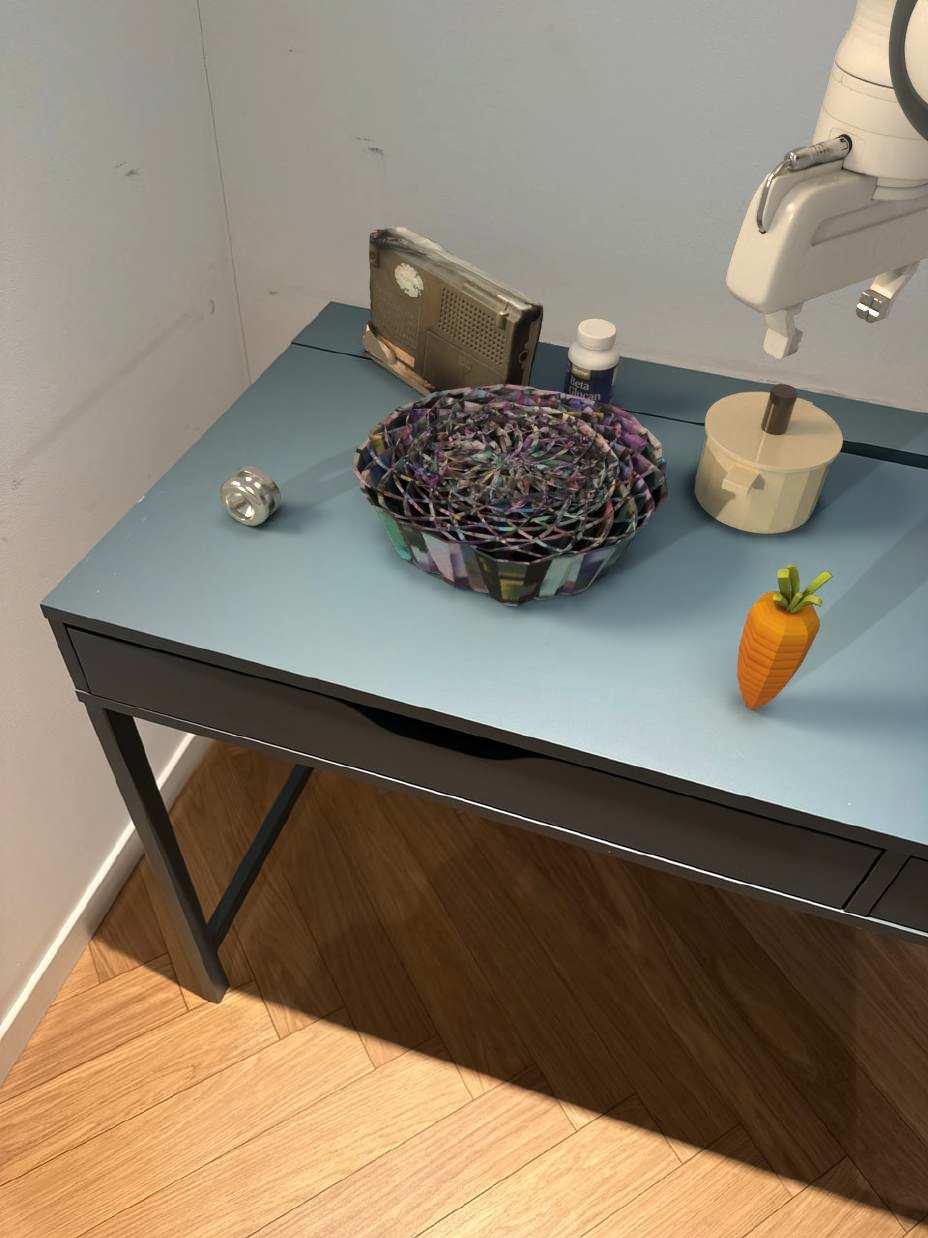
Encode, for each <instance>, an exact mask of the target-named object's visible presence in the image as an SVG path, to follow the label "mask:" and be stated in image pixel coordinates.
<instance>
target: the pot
mask: <svg viewBox="0 0 928 1238" xmlns="http://www.w3.org/2000/svg"><path fill="white" fill-rule="evenodd" d="M797 398H798V399H800V400H803V401H805V402H808V403H810V404H812V405H814V404H813V402H812V401H808V400H806V399H803V398H800V397H797ZM702 445H703V446H702V449H701V453H700V457H699V462H698V466H697V471H696V474H695V482H694V494H695V498H696V501H697V502H698V503H699V505H700V506H701V508H702V509H703V510H704V511H705V512H706V513H707V514H709V516H711V517H712V518H713V519H715V520H716V521H719V522H720V523H722V524H724V525H727V526H728V527H731V528H734V529H737V530H740V531H744V532H748V533H753V534H761V535H762V534H766V535H767V534H770V535H771V534H781V533H786V532H790V531H793V530H795V529H797V528H799V527H801V526H803V525H804V524H805V523H806V522H807V521H808V520H809V519H810V518H811V516H812V514H813V513H814V510H815V508H816V506H817V504H818V501H819V498H820V495H821V492H822V490H823V487H824V484H825V481H826V480H827V479H826V478H827V476H828V473H829V470H830V467H831V465H832V462H831V463H829V464H828V465H826V466H824V467H821V468H819V469H816V470H812V471H807V472H798V473H782V472H773V471H767V470H762V469H758V468H755V467H751V466H748V465H746V464H743V463H741V462H738V461H737V460H735V459H733V458H731V457H729V456H728V455H726V454H724V453H723V452H722V451H721V450H719V449H718V448H717V447H716V446H715V445H714V444H713V443H712V442H711V440H710V439H709V437H708V435H707V433H706V432H705V436H704V441H703V444H702Z"/></svg>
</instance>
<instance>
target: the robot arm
mask: <svg viewBox="0 0 928 1238" xmlns="http://www.w3.org/2000/svg"><path fill="white" fill-rule="evenodd" d="M833 59H834V60H833V63H832V67H831V71H830V75H829V79H828V83H827V86H826V89H825V93H824V97H823V101H822V103H821V108H820V111H819V115H818V117H817V118H818V119H817V122H816V125H815V128H814V129H815V130H814V132H813V137H812V145H810V146H799V147H795V148H793V149H791V150H789V151H788V152H786V154H785V155H784V156H783V160H782V161H781V162H780V163H778V164H777V166H775V168H774V169H773V170H772V171H771V172H769V173H767V175H766V176H765V178H764V180H763V181H762V182H761V184H760V185H759V187H758V188H757V190H756V191H755V193H754V195H753V197H752V199H751V201H750V204H749V206H748V208H747V211H746V214H745V216H744V219H743V221H742V224H741V227H740V231H739V233H738V236H737V239H736V242H735V245H734V249H733V251H732V255H731V258H730V261H729V264H728V268H727V270H726V271H727V272H726V277H725V284H726V287H727V289H728V292H729V294H730V295H731V297H733V298H734V299H735V300H737V301H738V302H740V303H742V304H743V305H745V306H747V307H748V308H750V309H752V310H754V311H755V312H758V313H759V314H762V315H763V316H764V319H765V323H766V327H767V329H766V333H765V338H764V341H763V345H762V346H763V350H764V352H765V353H766V354H768V355H770V356H771V357H773V358H774V359H776V360H782V359H784V358H786V357H789V356H791V355H794V354H796V353H797V352H798V351H799V344H800V342H801V341H802V338H803V334H804V332H803V331H802V330H800V329H799V328H797V327H795V316H797V315H800V314H801V312H802V310H803V306H804V303H806V302H808V301H810V300H811V301H812V300H813V299H816V298H819V297H821V296H825V295H827V294H830V293H832V292H836V291H839V290H842V289H844V288H846V287H847V288H848V287H849V286H853V285H855V284H858V283H861V282H863V281H864V282H865V281H867V280H869V279H872V278H874V277H875V279H874V280H873V282H872V284H871V286H870V287H869V288H868V289H866V290H863V291H862V292H861V294H860V297H859V300H858V301H859V302H858V304H857V306H856V309H855V314H856V316H857V317H858V318H859V319H861V320H864V321H865V322H866V323H869V324H873V323H876V322H879V321H883V320H884V319H887V318H889V316H890V313H891V311H892V309H893V306H894V303H895V300H896V298H897V297H899V295H900V293H901V292H902V291H903V290H904V288H905V287H906V286H907V284H908V283H909V282H910V280H911V279H912V278H913V276H914V275H915V274H916V272H917V271H918V268H919V265H920V262H921V261H923V260H925V259H928V0H856V6H855V11H854V14H853V17H852V20H851V22H850V25H849V27H848V29H847V31H846V33H845V35H844V37H843V38H842V40H841V41H840V44H839V45H838V48H837V51H836V54H835V56H834V58H833Z"/></svg>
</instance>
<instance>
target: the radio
mask: <svg viewBox="0 0 928 1238" xmlns="http://www.w3.org/2000/svg"><path fill="white" fill-rule="evenodd" d="M368 244H369V245H368V246H369V247H368V261H369V286H368V288H369V300H370V302H369V308H370V312H369V313H370V320H369V319H367V320H366V324H365V329H364V334H363V336H362V345H363V347H364V349H365V350H363V352H362V353H363V354H364V355H366V356H367V357H368V358H370V359H371V360H372V361H374V362H376V363H377V364H378V365H380V366H381V367H383V368H384V369H386V370H387V371H389V372H390V373H391V374H393V375H394V376H396V377H397V378H399V379H400V380H401V381H403V382H404V383H406V384H407V385H408V386H410V387H412V388H413V389H414V390H416V391H417V392H419V393H420V394H421V395H423V396H425V397H426V396H428V395H430V394H432V393H434V392H440V391H447V390H454V389H461V388H466V387H470V386H493V385H499V384H509V385H518V386H528V387H530V383H531V377H532V371H533V367H534V363H535V360H536V354H537V350H538V345H539V342H540V338H541V337H540V336H541V332H542V325H543V320H544V306H543V304H542V303H541V302H539V301H537V300H534V299H533V298H531V297H530V296H529V295H527V294H526V293H524V292H522V291H521V290H519V289H517V288H515V287H514V286H512V285H510V284H508V283H507V282H505V281H502V280H501V279H500V278H498V277H495V276H494V275H493V274H491V273H489V272H487V271H485V270H483V269H482V268H480V267H478V266H475V265H474V264H472V263H473V262H470V261H468V260H465V259H462V258H460V257H458V256H456V255H455V254H454V253H451V252H450V251H449V250H447V249H445V247H443V246H442V245H441V244H439V243H438V242H436V241H434V240H432V239H431V238H430V239H429V238H426V237H425V236H422V235H420V234H417V233H415V232H413V231H412V230H410V229H409V228H407V227H406V226H403V225H392V226H389V227H384V228H382V229H381V228H380V229H375V230H373V231H372V232H371V233H370V234H369V242H368Z"/></svg>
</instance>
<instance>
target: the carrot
mask: <svg viewBox="0 0 928 1238" xmlns="http://www.w3.org/2000/svg"><path fill="white" fill-rule="evenodd" d="M799 573H800V572H799V570H798V567H797V565H796V564H789V565H788V564H787V565H786V568H780V569H778V571H777V585H778V589H779V591H777V590H775V591H766V592H765V593H763V594H762V595H761V596H760V598H758V600H757V601H756V602H755V603H754V604H753V605H752V606H751V607H750V608H749V611H748V613H747V617H746V620H745V624H744V627H743V630H742V633H741V638H740V642H739V646H738V654H737V656H738V657H737V667H736V668H737V669H736V676H737V682H738V688H739V692H740V694H741V698H742V700H743V703H744V705H745V707H746V708H748V709H749V710H758V709H760V708H762V707H764V706H766V705H768V704H770V702H772V701H773V700H774V699H776V697H777V696H778V695H779V694H780V692H782V691H783V690H784V688H785V687H786V686H787V684H788V683H789V682H790V680H791V679H792V678H793V677H794V676H795V674H796V673H797V671H798V670H799V668H800V667H801V666H802V664H803V663H804V661H805V659H806V657H807V655H808V653H809V651H810V649H811V647H812V646H813V643H814V641H815V639H816V636H817V634H818V633H819V630H820V626H821V620H820V618H819V616H818V613H817V611H816V609H815V607H814V605H815V606H817V607H819V608H820V607H822V605H823V602H824V601H823V599H821V597H818V596H816V595H813V594H814V593H815V592H816V591H818V590H819V589H820V588H821V587H822V586H824V585H825V584H826V583H828V581H830V580H831V579H832V578H833V577H834V575H833V574H832V572H830V571H829V570H825V571H823V572H821V573H820V574H818V576H816V578H814V579H813V581H812V582H810V583H809V584H808V586H807V587H806V588H805V589H804V590H803V591H800V589H801V588H800V587H801V579H800V574H799Z"/></svg>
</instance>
